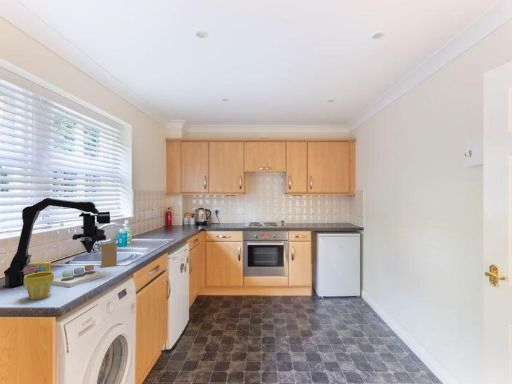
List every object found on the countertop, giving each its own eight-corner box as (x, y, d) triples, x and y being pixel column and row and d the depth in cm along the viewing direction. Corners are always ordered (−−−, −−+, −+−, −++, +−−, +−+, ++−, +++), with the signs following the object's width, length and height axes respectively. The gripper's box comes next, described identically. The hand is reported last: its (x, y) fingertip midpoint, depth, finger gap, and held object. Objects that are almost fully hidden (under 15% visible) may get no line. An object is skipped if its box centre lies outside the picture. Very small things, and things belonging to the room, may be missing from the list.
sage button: (66, 277, 135) (66, 273, 135) (60, 276, 137) (60, 272, 137) (75, 275, 139) (74, 271, 139) (68, 274, 141) (68, 270, 141)
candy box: (16, 278, 146) (16, 263, 146) (20, 277, 149) (19, 262, 149) (49, 277, 148) (49, 262, 148) (51, 276, 150) (51, 261, 150)
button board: (69, 287, 132) (69, 282, 132) (49, 284, 137) (49, 279, 137) (105, 275, 151) (105, 271, 151) (86, 273, 155) (86, 269, 155)
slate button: (77, 274, 141) (77, 270, 141) (71, 273, 142) (71, 269, 142) (85, 271, 145) (85, 268, 145) (79, 271, 146) (79, 267, 146)
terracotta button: (88, 271, 146) (88, 267, 146) (82, 270, 148) (82, 266, 148) (95, 268, 151) (95, 265, 151) (90, 268, 152) (90, 264, 152)
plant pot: (50, 291, 127) (50, 270, 127) (56, 296, 121) (56, 274, 121) (21, 297, 119) (21, 275, 119) (26, 303, 113) (26, 279, 113)
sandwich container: (115, 261, 184) (115, 239, 185) (117, 266, 171) (116, 242, 171) (100, 262, 180) (100, 240, 180) (101, 268, 167) (101, 243, 167)
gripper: (114, 223, 154) (114, 251, 154) (90, 222, 160) (90, 249, 160) (96, 225, 143) (96, 255, 143) (71, 224, 150) (71, 252, 150)
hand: (89, 252), depth 149 cm, fingers closed
